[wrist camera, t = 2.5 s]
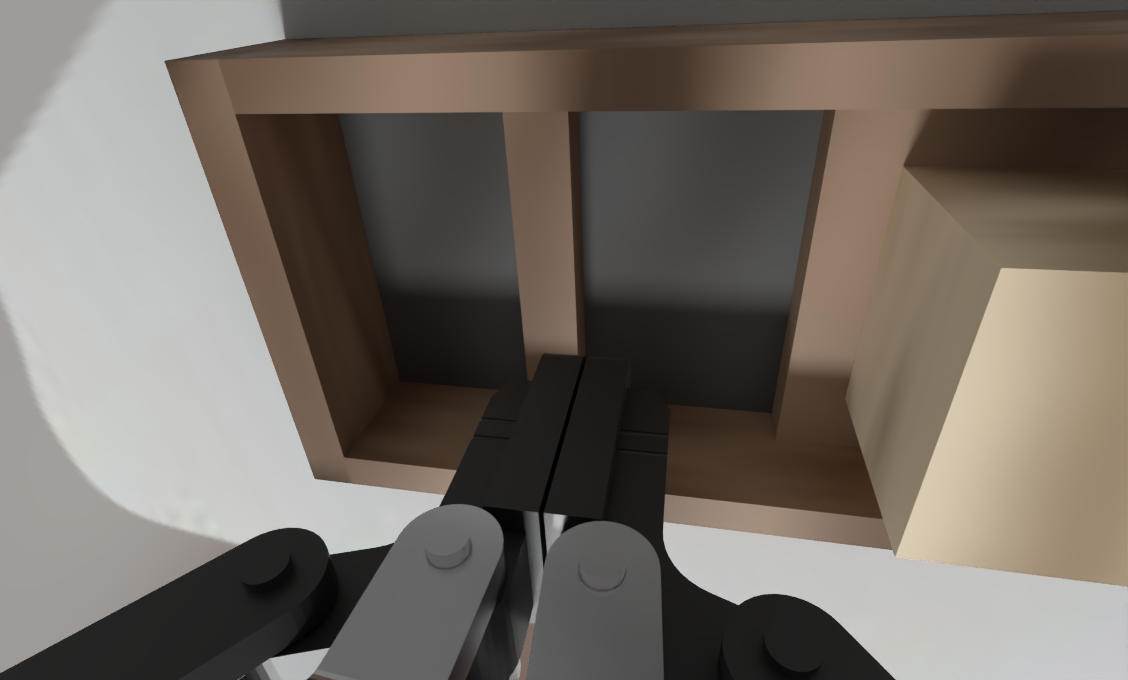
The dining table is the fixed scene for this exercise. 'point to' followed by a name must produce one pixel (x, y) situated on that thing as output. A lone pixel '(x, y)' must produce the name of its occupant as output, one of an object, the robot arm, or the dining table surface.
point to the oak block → (1001, 371)
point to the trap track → (618, 225)
